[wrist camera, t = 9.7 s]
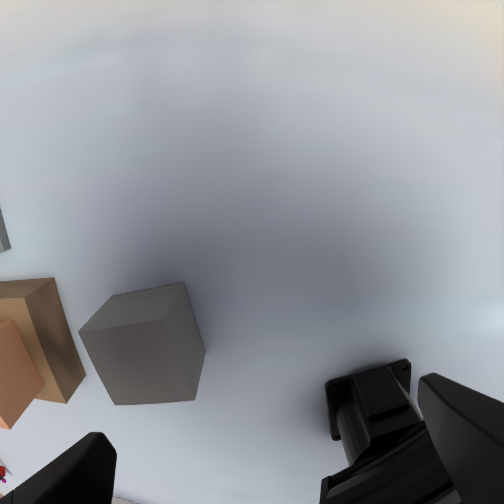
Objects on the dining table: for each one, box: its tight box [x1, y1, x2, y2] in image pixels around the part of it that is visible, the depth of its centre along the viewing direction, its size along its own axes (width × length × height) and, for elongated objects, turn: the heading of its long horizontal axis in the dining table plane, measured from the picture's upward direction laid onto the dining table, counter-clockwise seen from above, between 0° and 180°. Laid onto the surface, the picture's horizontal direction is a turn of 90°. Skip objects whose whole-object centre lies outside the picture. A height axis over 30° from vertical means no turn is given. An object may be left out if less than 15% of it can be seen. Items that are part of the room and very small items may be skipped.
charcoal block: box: [78, 282, 206, 405], centre depth 17 cm, size 5×5×5 cm
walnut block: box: [0, 277, 86, 404], centre depth 19 cm, size 8×8×4 cm
